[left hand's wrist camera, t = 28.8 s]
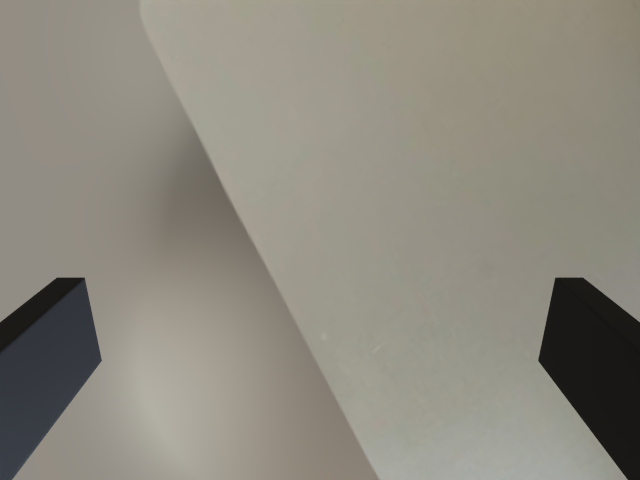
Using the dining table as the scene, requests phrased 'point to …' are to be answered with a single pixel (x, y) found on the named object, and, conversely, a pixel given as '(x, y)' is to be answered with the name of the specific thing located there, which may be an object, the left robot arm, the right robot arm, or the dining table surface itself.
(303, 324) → the dining table surface
